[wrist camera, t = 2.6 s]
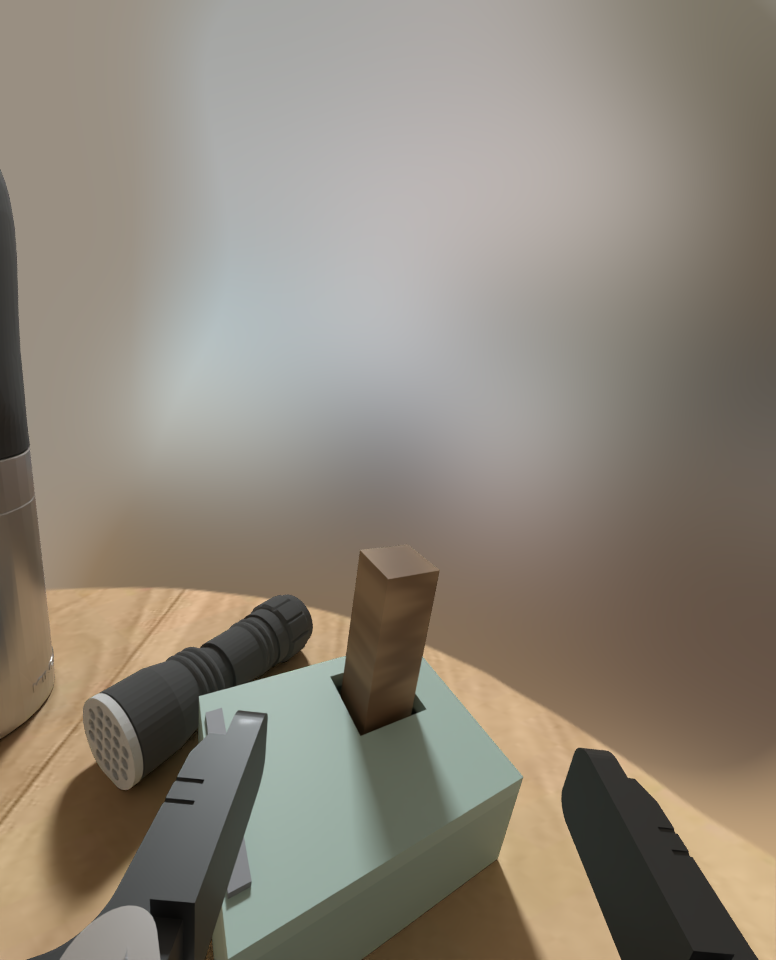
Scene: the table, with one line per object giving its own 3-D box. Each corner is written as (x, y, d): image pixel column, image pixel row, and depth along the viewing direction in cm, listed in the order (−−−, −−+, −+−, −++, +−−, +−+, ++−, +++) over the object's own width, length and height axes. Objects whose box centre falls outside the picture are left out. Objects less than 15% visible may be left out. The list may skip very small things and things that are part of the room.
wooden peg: (354, 789, 22) (388, 579, 19) (334, 742, 25) (360, 550, 21) (400, 767, 24) (439, 570, 20) (376, 725, 27) (407, 544, 23)
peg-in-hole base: (222, 1062, 14) (228, 953, 12) (197, 777, 23) (198, 692, 21) (497, 858, 21) (524, 772, 19) (395, 703, 30) (408, 635, 28)
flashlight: (271, 628, 36) (275, 578, 35) (315, 653, 34) (321, 601, 33) (85, 754, 23) (79, 682, 22) (135, 809, 21) (132, 732, 19)
